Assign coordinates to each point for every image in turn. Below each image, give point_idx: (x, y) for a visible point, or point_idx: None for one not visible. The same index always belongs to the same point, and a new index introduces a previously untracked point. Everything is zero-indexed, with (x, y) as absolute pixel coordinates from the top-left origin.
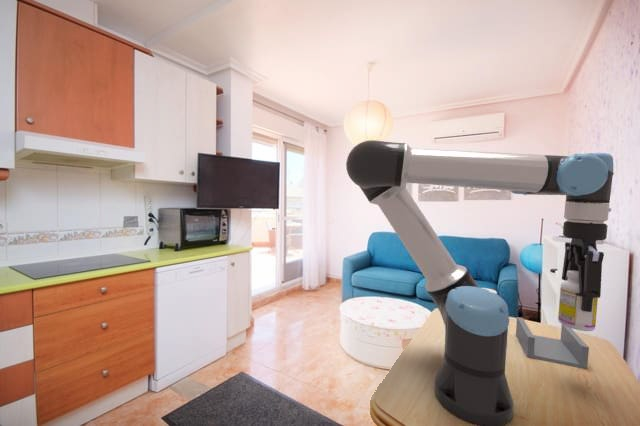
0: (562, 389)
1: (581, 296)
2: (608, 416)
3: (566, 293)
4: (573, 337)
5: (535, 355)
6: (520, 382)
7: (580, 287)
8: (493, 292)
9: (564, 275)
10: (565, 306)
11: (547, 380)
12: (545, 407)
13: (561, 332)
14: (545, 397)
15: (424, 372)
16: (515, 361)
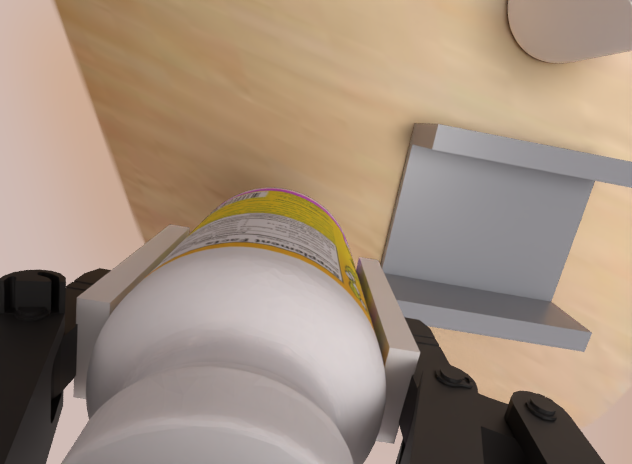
0: (236, 148)
1: (80, 315)
2: (144, 206)
3: (191, 248)
4: (467, 310)
5: (413, 150)
6: (236, 22)
7: (17, 349)
8: None
9: (524, 433)
10: (218, 216)
11: (274, 124)
12: (122, 46)
13: (566, 314)
14: (175, 71)
15: None
16: (374, 63)
